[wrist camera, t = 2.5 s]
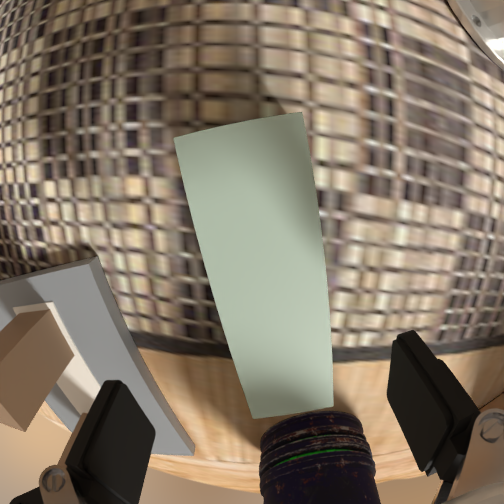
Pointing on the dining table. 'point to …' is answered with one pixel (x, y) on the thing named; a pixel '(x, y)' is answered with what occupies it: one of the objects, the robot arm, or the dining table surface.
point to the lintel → (264, 257)
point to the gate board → (73, 353)
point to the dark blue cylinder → (317, 461)
